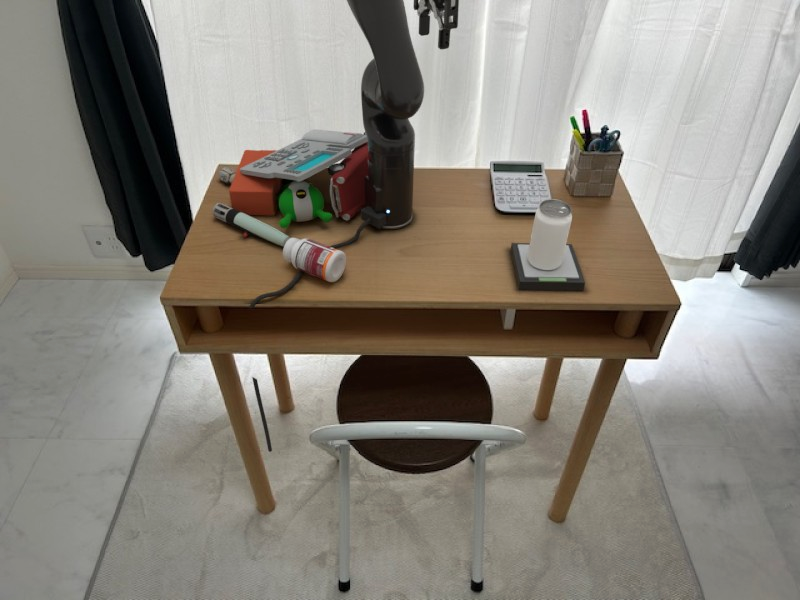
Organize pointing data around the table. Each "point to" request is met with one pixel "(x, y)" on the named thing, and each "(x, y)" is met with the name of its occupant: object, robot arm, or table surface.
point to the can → (549, 234)
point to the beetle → (227, 175)
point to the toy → (301, 203)
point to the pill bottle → (315, 258)
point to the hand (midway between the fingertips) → (433, 41)
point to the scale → (535, 279)
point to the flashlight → (249, 224)
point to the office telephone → (306, 155)
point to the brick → (255, 188)
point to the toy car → (349, 182)
